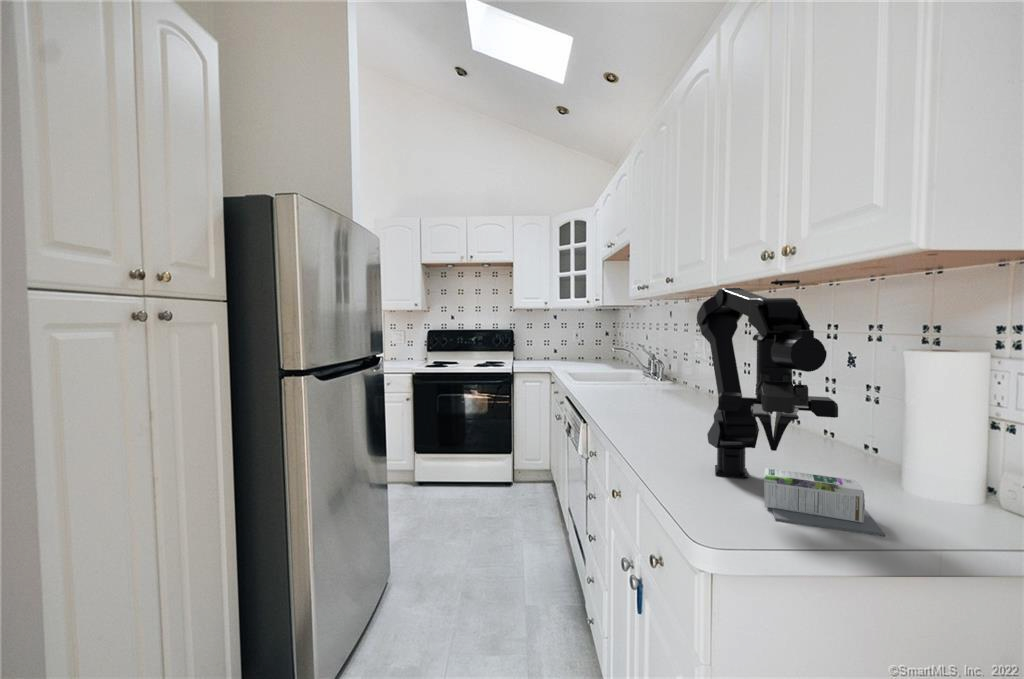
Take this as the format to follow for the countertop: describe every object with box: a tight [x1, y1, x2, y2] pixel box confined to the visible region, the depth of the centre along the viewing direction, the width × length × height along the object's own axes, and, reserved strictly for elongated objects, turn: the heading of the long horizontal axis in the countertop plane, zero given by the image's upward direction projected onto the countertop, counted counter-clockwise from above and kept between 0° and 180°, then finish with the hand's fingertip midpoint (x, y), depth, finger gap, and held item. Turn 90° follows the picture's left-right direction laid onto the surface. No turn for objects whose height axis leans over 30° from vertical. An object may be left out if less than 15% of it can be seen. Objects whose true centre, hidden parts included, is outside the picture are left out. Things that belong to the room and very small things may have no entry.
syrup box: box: [763, 467, 866, 523], centre depth 80 cm, size 6×6×14 cm
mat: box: [771, 508, 886, 537], centre depth 81 cm, size 16×15×1 cm
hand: (773, 450), depth 84 cm, fingers closed
